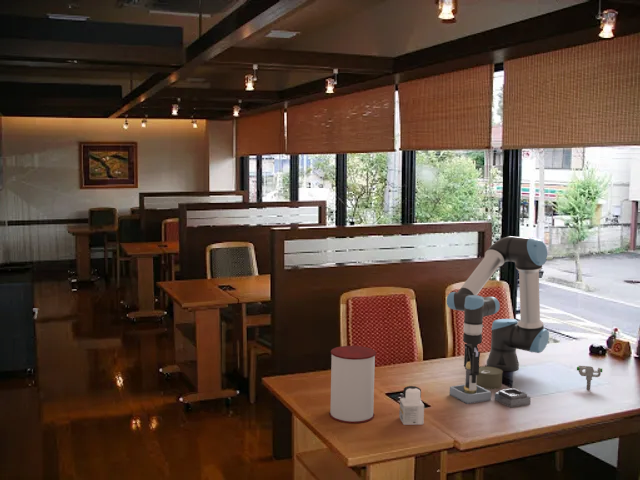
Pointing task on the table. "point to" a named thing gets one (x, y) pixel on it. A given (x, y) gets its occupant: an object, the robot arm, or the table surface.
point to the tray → (470, 398)
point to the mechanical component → (588, 373)
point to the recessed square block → (512, 397)
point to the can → (489, 377)
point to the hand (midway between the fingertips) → (470, 387)
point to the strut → (466, 387)
